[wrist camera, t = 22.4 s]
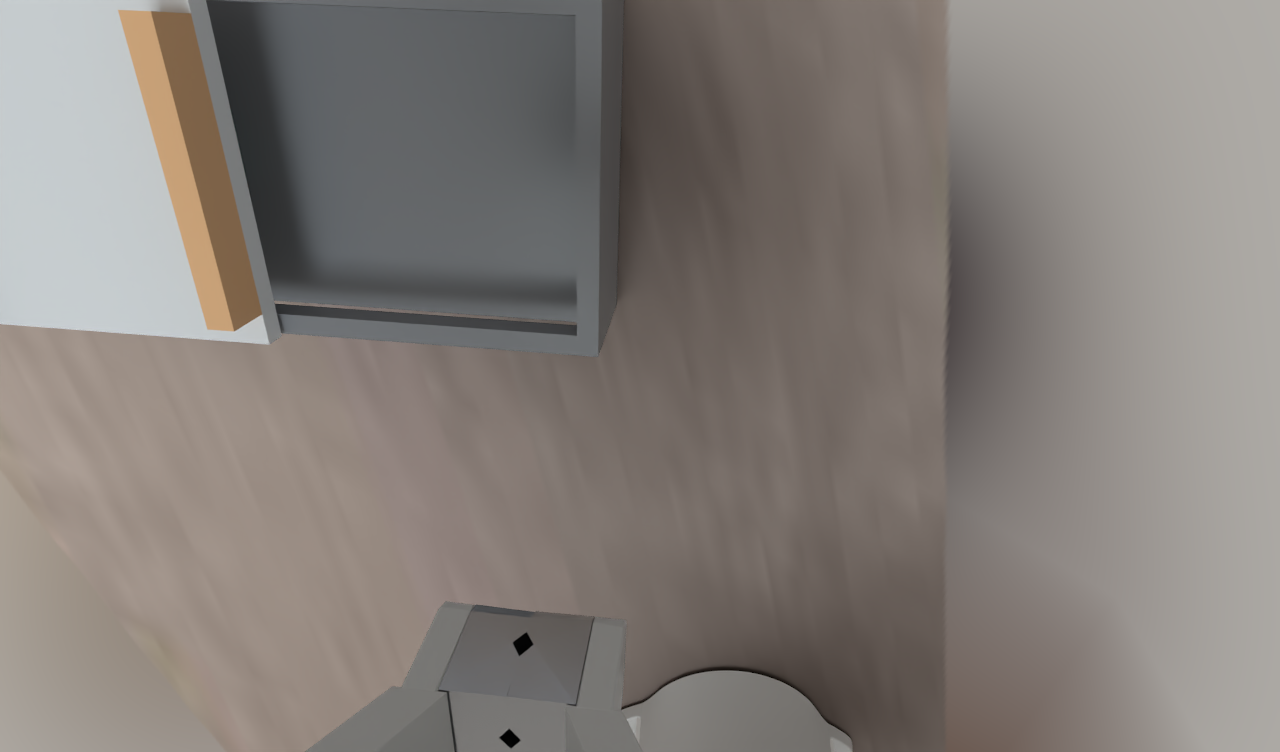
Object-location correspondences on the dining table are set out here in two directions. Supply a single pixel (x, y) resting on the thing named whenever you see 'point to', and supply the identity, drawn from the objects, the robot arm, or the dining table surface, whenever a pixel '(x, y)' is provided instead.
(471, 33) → the housing
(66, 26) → the lid
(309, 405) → the dining table surface
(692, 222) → the dining table surface
